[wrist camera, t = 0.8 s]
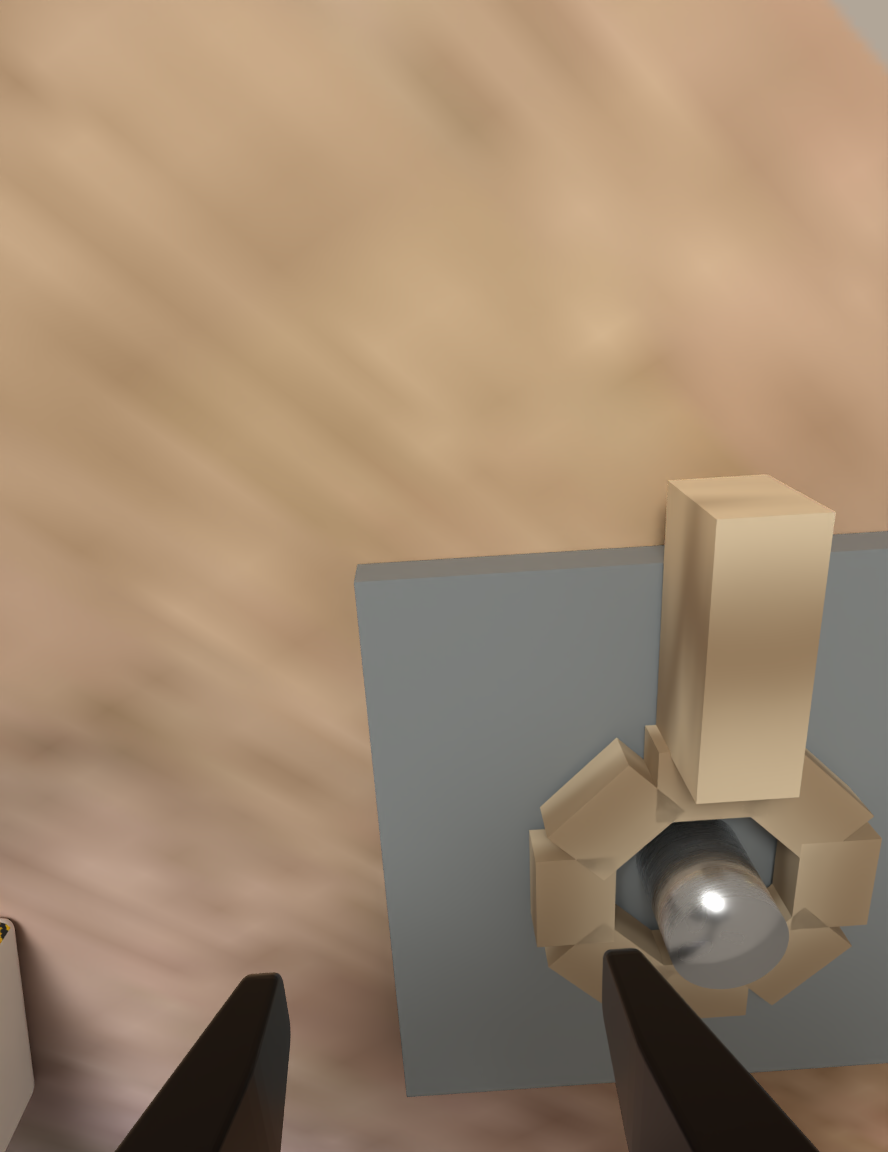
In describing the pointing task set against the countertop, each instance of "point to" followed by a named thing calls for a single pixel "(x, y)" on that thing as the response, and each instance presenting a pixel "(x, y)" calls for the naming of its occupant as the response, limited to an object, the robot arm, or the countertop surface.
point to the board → (543, 766)
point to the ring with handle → (718, 748)
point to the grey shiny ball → (711, 905)
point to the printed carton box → (12, 1039)
